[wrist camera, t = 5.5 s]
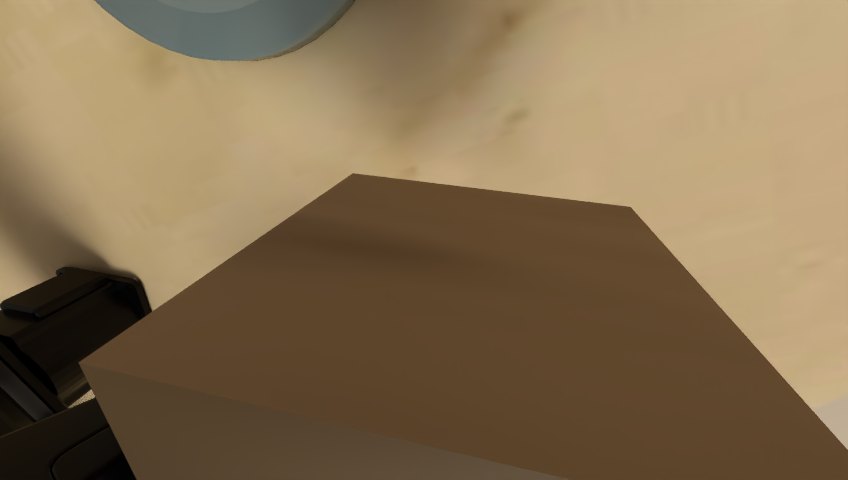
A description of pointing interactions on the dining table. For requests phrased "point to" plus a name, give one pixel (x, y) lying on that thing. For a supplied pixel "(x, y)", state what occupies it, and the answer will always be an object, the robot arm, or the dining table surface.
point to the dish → (228, 25)
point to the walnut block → (452, 354)
